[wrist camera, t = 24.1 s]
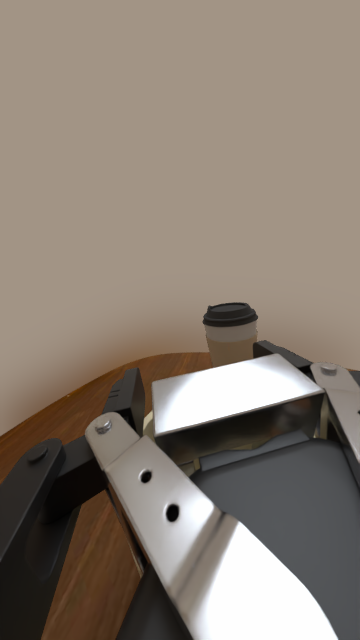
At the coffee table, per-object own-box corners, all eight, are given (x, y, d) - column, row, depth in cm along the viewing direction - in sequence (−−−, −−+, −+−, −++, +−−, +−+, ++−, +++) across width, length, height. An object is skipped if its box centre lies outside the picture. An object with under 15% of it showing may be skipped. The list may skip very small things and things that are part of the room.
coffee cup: (257, 369, 35) (252, 296, 32) (267, 400, 27) (262, 306, 23) (212, 369, 38) (203, 302, 34) (209, 398, 30) (197, 313, 26)
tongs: (265, 514, 14) (290, 346, 8) (289, 567, 12) (352, 389, 5) (183, 542, 13) (133, 382, 7) (191, 604, 11) (126, 449, 5)
